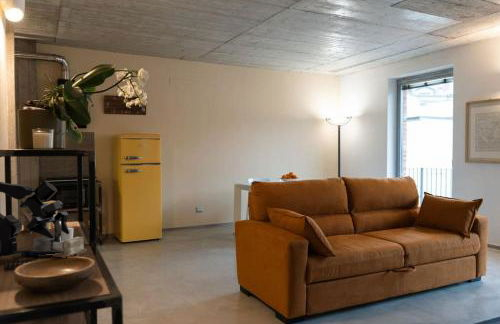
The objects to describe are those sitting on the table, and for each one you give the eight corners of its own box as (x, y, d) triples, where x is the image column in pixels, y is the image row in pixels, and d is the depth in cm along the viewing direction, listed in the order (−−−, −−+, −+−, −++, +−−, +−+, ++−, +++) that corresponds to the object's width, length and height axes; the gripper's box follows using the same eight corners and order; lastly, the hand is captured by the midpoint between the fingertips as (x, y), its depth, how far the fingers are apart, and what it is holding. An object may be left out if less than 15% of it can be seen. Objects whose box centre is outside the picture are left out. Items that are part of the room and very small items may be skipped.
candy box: (51, 227, 234) (50, 200, 233) (58, 227, 233) (57, 200, 233) (42, 230, 225) (41, 202, 225) (49, 230, 224) (48, 202, 224)
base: (23, 255, 167) (23, 239, 167) (45, 249, 179) (44, 234, 179) (67, 258, 162) (67, 242, 162) (86, 251, 174) (86, 236, 174)
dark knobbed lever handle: (33, 248, 171) (33, 221, 171) (39, 246, 174) (38, 219, 174) (64, 249, 168) (63, 222, 167) (69, 248, 171) (68, 221, 170)
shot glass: (56, 245, 186) (56, 230, 186) (59, 242, 193) (58, 227, 193) (72, 244, 188) (72, 229, 188) (74, 241, 195) (74, 226, 194)
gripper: (31, 197, 162) (56, 226, 159) (64, 192, 180) (86, 218, 177) (15, 216, 164) (39, 245, 161) (49, 210, 182) (71, 236, 179)
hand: (60, 235), depth 170 cm, fingers open, 9 cm apart
